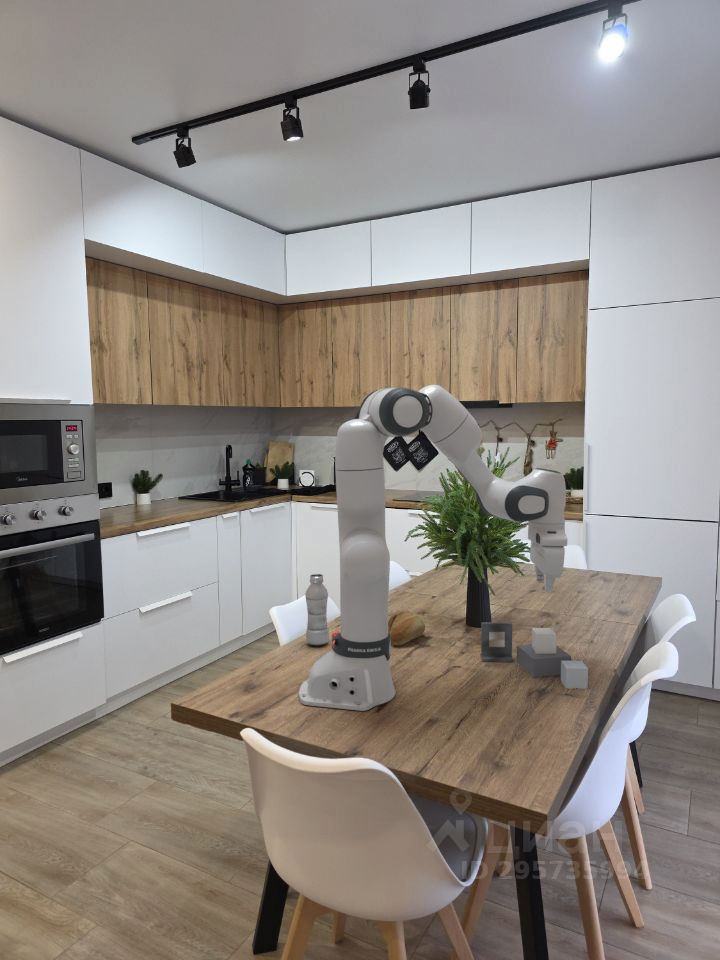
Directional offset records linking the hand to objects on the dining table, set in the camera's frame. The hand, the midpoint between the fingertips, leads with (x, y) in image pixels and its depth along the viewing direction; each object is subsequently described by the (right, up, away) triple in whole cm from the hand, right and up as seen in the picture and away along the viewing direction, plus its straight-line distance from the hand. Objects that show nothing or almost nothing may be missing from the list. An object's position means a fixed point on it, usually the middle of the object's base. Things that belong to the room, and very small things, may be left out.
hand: (544, 586), depth 165 cm
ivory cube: (0, -17, +2) cm, 17 cm away
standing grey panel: (-10, -21, +9) cm, 25 cm away
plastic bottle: (-59, -20, +21) cm, 65 cm away
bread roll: (-33, -20, +24) cm, 46 cm away
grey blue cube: (+5, -22, -8) cm, 24 cm away
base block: (0, -22, +2) cm, 22 cm away
